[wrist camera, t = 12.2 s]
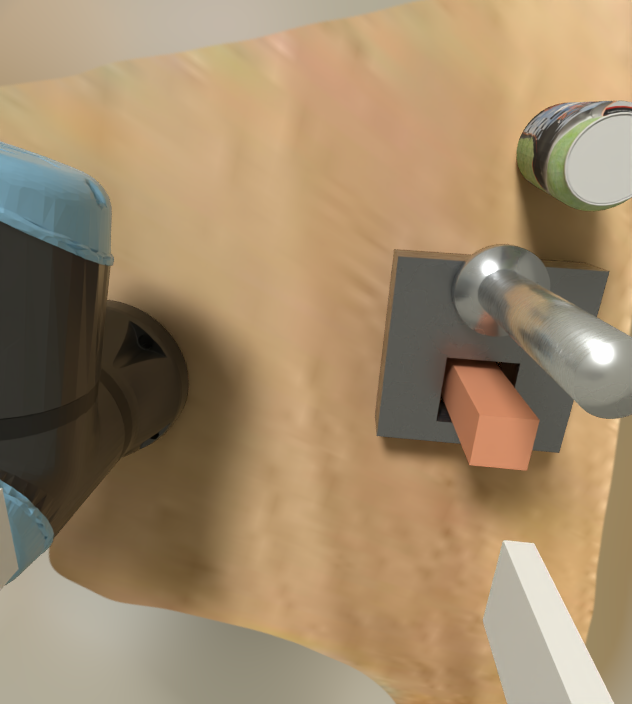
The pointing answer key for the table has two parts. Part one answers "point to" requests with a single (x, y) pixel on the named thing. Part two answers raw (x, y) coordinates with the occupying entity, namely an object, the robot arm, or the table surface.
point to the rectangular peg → (488, 414)
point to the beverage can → (580, 153)
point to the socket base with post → (499, 339)
